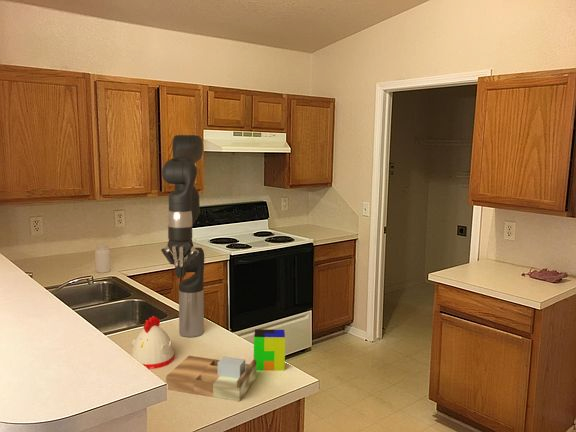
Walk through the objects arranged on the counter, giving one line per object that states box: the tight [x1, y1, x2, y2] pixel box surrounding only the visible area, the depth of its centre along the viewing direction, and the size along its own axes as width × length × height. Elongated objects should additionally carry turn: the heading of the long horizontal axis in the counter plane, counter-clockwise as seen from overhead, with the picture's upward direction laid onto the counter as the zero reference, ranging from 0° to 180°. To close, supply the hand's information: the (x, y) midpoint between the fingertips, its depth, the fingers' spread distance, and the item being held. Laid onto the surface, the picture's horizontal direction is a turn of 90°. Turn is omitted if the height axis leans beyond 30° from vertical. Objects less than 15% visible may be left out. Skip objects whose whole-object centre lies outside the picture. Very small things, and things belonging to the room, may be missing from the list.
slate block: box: [218, 355, 246, 378], centre depth 144 cm, size 4×7×4 cm, turn 75°
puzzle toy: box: [253, 328, 286, 372], centre depth 160 cm, size 10×10×10 cm
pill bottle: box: [94, 243, 112, 274], centre depth 268 cm, size 8×8×15 cm
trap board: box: [165, 355, 257, 402], centre depth 146 cm, size 15×23×6 cm, turn 75°
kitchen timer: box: [130, 315, 175, 370], centre depth 160 cm, size 14×14×15 cm
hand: (180, 277), depth 156 cm, fingers closed
